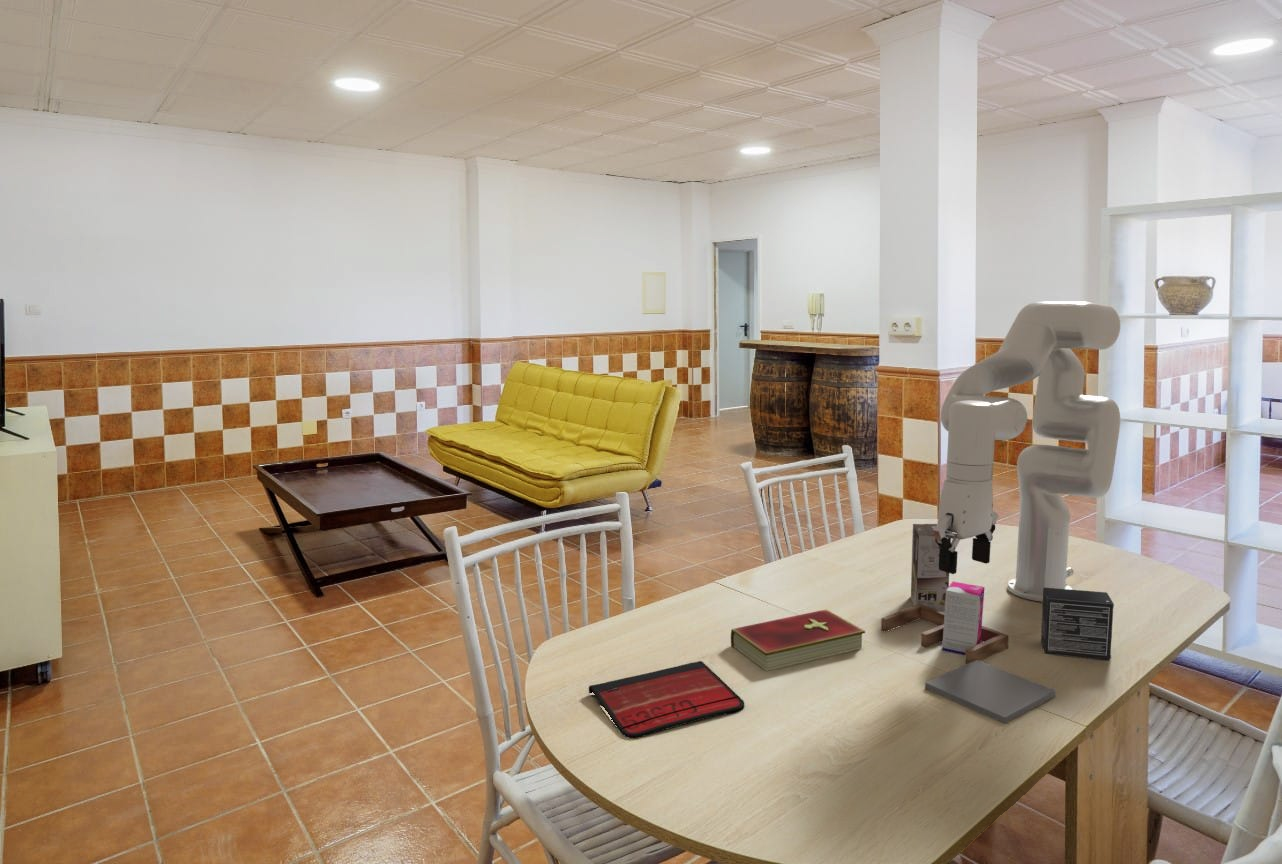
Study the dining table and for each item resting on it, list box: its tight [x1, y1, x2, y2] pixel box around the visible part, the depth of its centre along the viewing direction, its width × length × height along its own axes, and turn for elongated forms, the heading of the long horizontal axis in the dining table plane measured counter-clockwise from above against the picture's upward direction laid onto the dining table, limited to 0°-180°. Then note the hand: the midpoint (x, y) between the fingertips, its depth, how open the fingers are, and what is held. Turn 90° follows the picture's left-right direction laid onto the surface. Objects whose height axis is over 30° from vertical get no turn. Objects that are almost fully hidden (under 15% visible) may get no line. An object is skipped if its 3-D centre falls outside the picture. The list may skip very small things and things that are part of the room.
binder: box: [588, 660, 745, 739], centre depth 132 cm, size 16×2×21 cm
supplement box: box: [941, 580, 986, 656], centre depth 148 cm, size 6×6×12 cm
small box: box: [1040, 588, 1115, 661], centre depth 147 cm, size 11×6×10 cm, turn 71°
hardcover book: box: [730, 609, 866, 672], centre depth 151 cm, size 12×21×4 cm, turn 114°
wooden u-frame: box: [880, 604, 1010, 665], centre depth 153 cm, size 12×19×2 cm, turn 35°
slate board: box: [924, 660, 1057, 725], centre depth 133 cm, size 14×14×1 cm
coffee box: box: [910, 523, 952, 613], centre depth 169 cm, size 9×6×16 cm
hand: (964, 566), depth 146 cm, fingers open, 9 cm apart
